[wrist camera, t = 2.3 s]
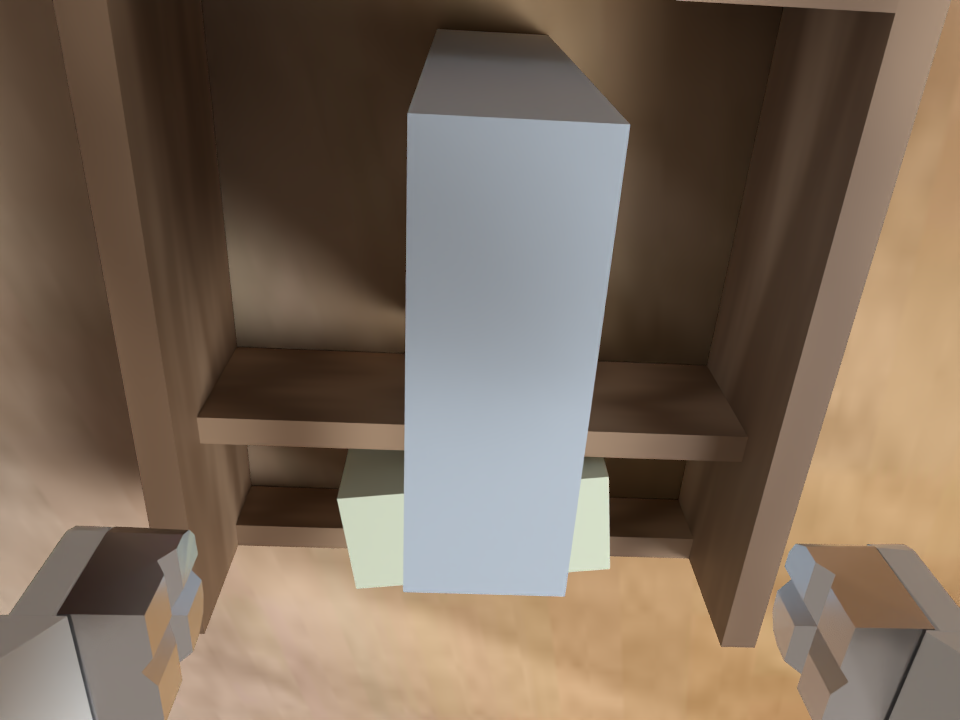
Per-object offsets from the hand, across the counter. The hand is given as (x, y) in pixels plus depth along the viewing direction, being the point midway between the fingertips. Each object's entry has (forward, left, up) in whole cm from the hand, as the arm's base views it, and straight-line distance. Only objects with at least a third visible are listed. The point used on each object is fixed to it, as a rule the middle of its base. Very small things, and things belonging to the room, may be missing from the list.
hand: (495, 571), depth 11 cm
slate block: (0, 0, -18) cm, 18 cm away
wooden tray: (0, +3, -18) cm, 19 cm away
